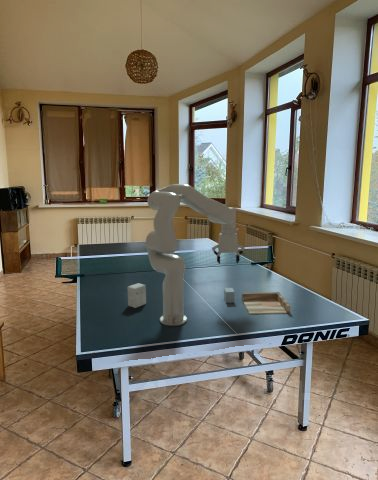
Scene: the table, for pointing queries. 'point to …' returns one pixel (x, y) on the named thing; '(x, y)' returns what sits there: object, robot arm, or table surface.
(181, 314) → the robot arm
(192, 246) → the table surface
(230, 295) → the grey block
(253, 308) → the wooden tray
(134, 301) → the small box
